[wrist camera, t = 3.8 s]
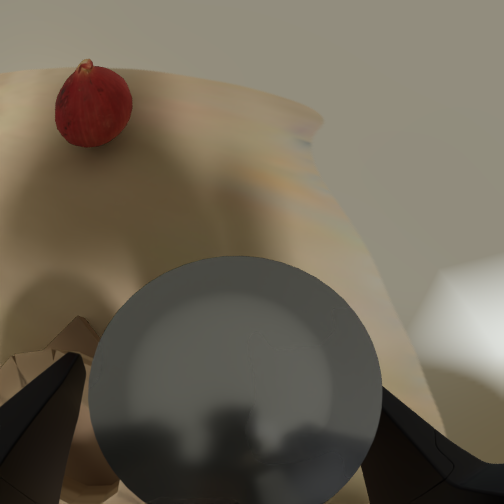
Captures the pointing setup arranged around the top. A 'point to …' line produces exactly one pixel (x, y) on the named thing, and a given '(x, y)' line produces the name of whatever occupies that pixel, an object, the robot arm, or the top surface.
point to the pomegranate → (92, 106)
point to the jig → (84, 441)
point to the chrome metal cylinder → (235, 387)
